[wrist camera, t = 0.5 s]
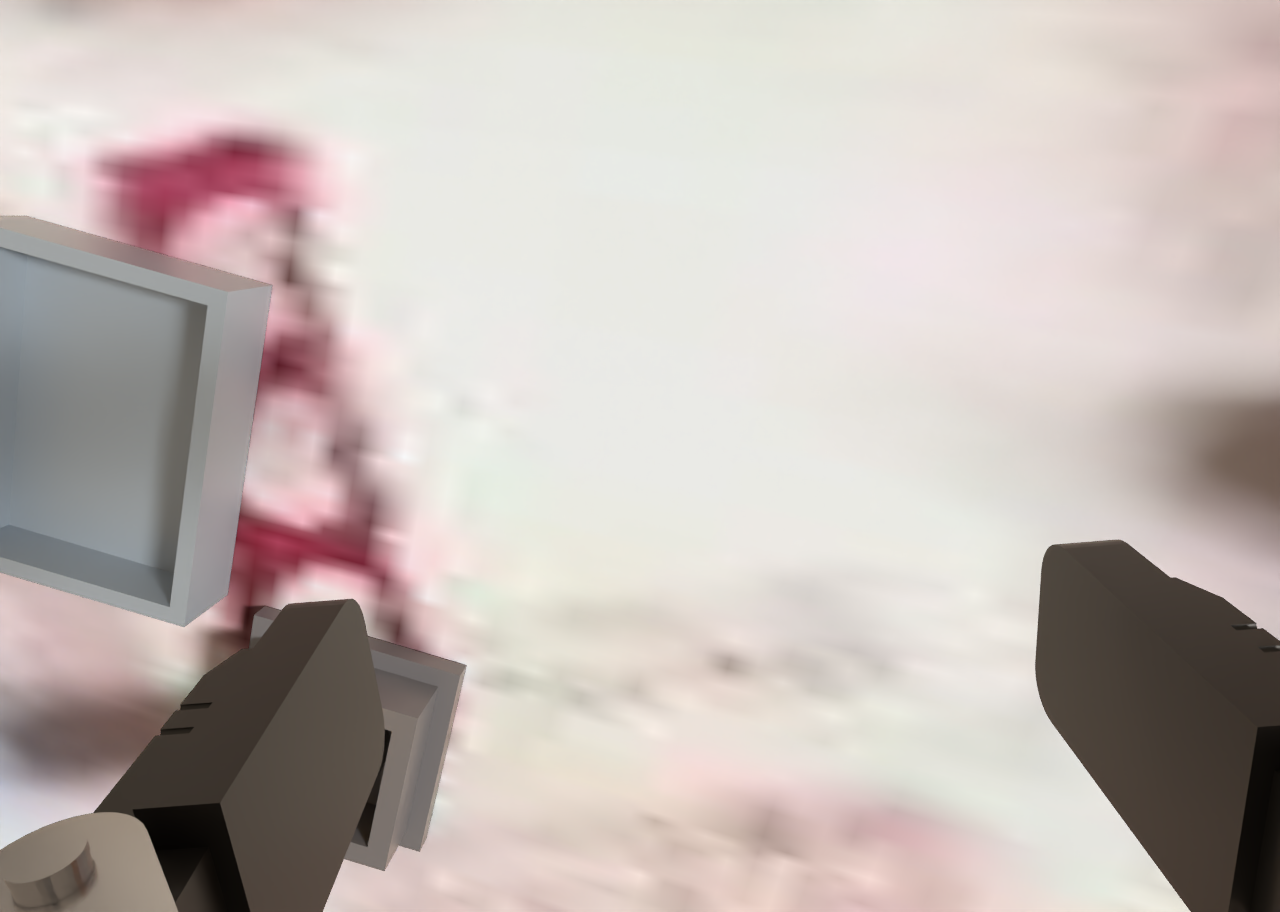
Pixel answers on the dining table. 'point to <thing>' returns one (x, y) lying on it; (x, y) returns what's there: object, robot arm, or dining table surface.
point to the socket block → (401, 745)
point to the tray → (123, 418)
